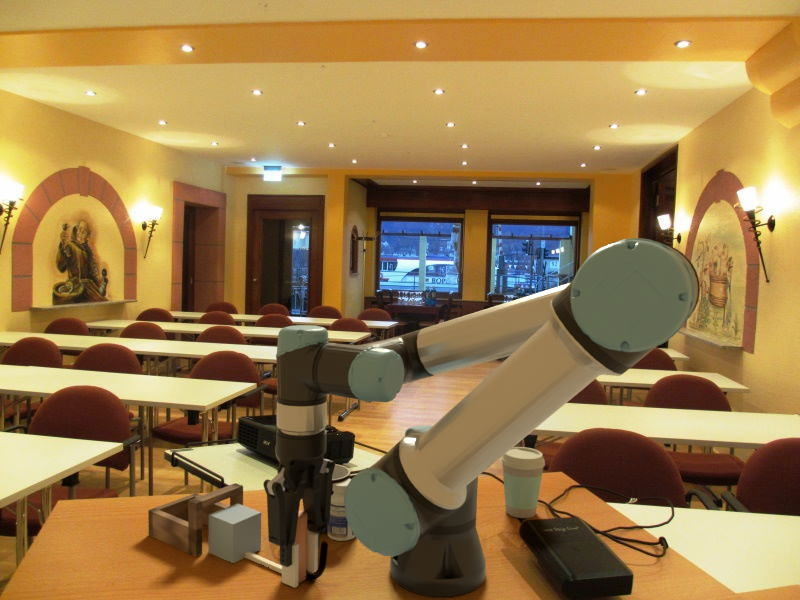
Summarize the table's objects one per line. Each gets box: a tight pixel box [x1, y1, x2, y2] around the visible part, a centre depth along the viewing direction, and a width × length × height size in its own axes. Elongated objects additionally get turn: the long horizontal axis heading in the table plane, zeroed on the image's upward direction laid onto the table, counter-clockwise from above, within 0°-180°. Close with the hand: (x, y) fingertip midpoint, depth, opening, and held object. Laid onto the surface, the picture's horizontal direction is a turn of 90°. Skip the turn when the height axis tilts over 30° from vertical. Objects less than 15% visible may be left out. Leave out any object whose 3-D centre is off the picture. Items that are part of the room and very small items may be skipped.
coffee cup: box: [500, 446, 546, 519], centre depth 124 cm, size 8×8×12 cm
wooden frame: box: [147, 483, 244, 557], centre depth 111 cm, size 13×10×9 cm
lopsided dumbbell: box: [208, 503, 308, 583], centre depth 102 cm, size 19×6×10 cm, turn 55°
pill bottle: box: [326, 478, 356, 542], centre depth 113 cm, size 5×5×10 cm
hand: (299, 577), depth 97 cm, fingers closed on lopsided dumbbell, 4 cm apart
